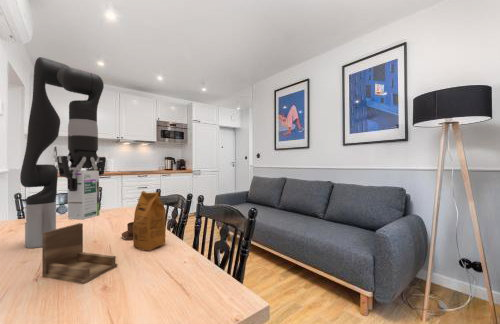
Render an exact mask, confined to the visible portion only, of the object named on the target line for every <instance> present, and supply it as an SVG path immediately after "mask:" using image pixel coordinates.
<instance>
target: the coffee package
mask: <svg viewBox="0 0 500 324" xmlns="http://www.w3.org/2000/svg"><path fill="white" fill-rule="evenodd" d="M161 196H162V195H161V193H160V192H146V190H145V191H144V190H142V191H141V192H140V196H139V197H138V201H137V204H136V206H135V211H134V214H133V215H134V217H133V222H134V224H133V239H132V241H133V244H132V245H133V247H134V248H138V249H139V250H140V251H152V250H153V249H155V248H157V247H160V246H163V245H165V244H166V230H167V228H166V223H167V222H166V208H165V205H164V204H163V202H162V200H161V198H160V197H161Z"/></svg>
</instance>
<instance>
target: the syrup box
mask: <svg viewBox="0 0 500 324" xmlns="http://www.w3.org/2000/svg"><path fill="white" fill-rule="evenodd" d="M72 173H73V172H72ZM75 179H77V191H69V189H68V188H67V219H68V220H77V221H78V220H80V221H81V220H83V221H85V220H86V219H90V218H94V217H98V216H100V176H99V171H93V170H88V171H87V170H80V171H79V172H78V174H77V176H76V178H75ZM66 181H67V182H66V183H68V180H66Z"/></svg>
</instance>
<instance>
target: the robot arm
mask: <svg viewBox="0 0 500 324" xmlns="http://www.w3.org/2000/svg"><path fill="white" fill-rule="evenodd" d="M33 67H34V68H33V82H32V99H31V107H30V112H29V118H28V125H27V136H26V144H25V145H26V146H25V152H24V156H23V160H22V165H21V170H20V175H19V176H20V178H19V180H20V184H21V186H23V187H24V188H38V187H43V188H42V189H41V190H40V191H38V192H36V193H35V194H32V195H29V196H27V197H26V198H25V222H24V246H25V247H26V248H27V249H36V248H42V233H43V232H47V231H51V230H55V229H57V195H58V191H57V190H58V189H57V188H58V176H59V177H62V178H66V179H67V180H68V182H67V190H68V189H69V191H77V179H75V178H76V176H77V174H78V172H79V171H82V169H85V171H88V170H93V171H99V177H100V176H101V175H104V174H105V169H106V168H105V167H106V162H107V161H106V160H107V158H106V156H98V155H97V152H98V151H99V128H98V106H99V103H100V99H101V96H102V93H103V90H104V86H105V85H104V81H103V79H102V77H101V76H100V75H99V74H96V73H93V72H89V71H85V70H82V69H78V68H73V67H71V66H69V65H67V64H65V63H62V62H59V61H55V60H54V59H53V60H52V59H49V58H46V57H44V56H43V57H41V56H39V57H37V58H36V59H35V63H34V66H33ZM46 85H49V86H54V87H58V88H63V89H64V90H65V91H68V92H70V93H73V94H81V95H84V96H88V97H87V99H85V100H83V99H82V100H81V99H79V100H78V99H77V100H71V101H70V102H69V104H68V124H67V125H68V126H67V150H68V155H58V156H57V157H56V162H57V166H55V165H54V164H38V162H39V159H40V156H42V154H43V152H45V151H46V150H47V148H49V147H50V146H51V145H52V144H53V143H54V142H55V141H56V140H57V138H58V137H59V136H60V135H59V133H60V127H61V118H60V116H59V114H58V112H57V111H56V109H55V107H54V106H53V104H52V102H51V101H50V98H49V97H48V93H47V89H46V88H47V87H46ZM69 163H70V164H69ZM57 168H58V169H57ZM72 172H73V173H72ZM58 174H59V175H58ZM67 180H66V181H67Z"/></svg>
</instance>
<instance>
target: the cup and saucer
mask: <svg viewBox="0 0 500 324" xmlns="http://www.w3.org/2000/svg"><path fill="white" fill-rule="evenodd" d="M133 224H134V221H131V222H128V223H127V226H126V227H127V230H126V231H123V232H122V233H121V237H122V238H124V239H129V240H131V239H132V240H133Z"/></svg>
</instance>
